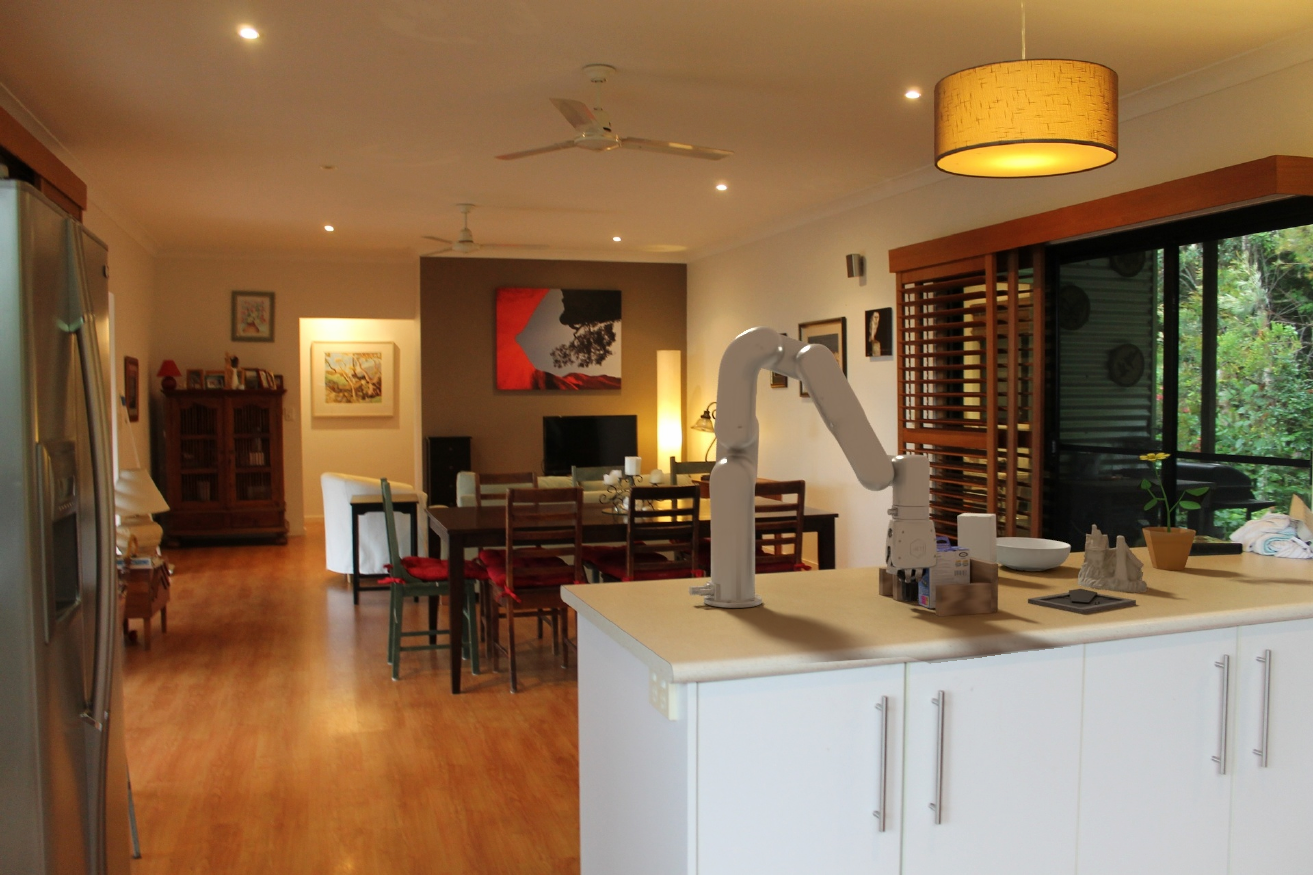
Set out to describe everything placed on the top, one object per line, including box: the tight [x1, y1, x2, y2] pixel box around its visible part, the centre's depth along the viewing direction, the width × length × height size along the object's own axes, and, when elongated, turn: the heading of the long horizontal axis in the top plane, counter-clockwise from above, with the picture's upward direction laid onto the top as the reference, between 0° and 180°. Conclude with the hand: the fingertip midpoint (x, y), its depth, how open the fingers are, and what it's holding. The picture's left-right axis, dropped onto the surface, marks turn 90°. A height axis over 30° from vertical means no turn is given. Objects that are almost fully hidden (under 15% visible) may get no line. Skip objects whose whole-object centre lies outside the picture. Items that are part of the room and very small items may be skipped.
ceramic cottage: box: [1077, 524, 1148, 593], centre depth 234 cm, size 16×16×15 cm
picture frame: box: [1027, 588, 1137, 615], centre depth 211 cm, size 13×2×18 cm
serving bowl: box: [996, 536, 1072, 572], centre depth 258 cm, size 21×21×7 cm
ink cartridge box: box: [918, 536, 970, 609], centre depth 210 cm, size 10×6×14 cm, turn 105°
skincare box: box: [956, 512, 998, 564], centre depth 245 cm, size 8×7×16 cm
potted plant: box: [1135, 451, 1211, 571], centre depth 257 cm, size 18×19×30 cm
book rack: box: [878, 557, 999, 617], centre depth 213 cm, size 14×24×10 cm, turn 17°
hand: (909, 600), depth 207 cm, fingers closed
